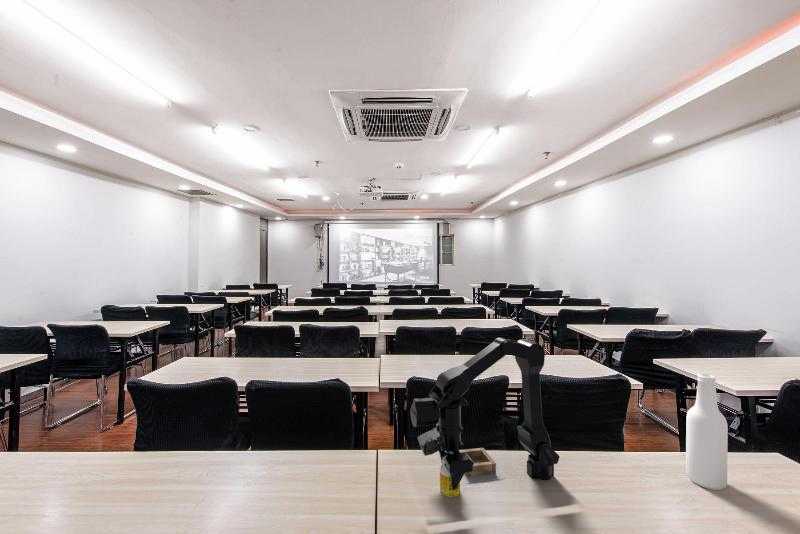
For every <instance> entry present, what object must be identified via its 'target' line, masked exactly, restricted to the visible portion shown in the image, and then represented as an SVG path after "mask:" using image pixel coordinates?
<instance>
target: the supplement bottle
mask: <svg viewBox="0 0 800 534" xmlns="http://www.w3.org/2000/svg"><path fill="white" fill-rule="evenodd" d="M446 457H447V456H444V457H443V458H442V462H441V465H440V467H439V491H440V493H441V495H442V496H445V497H447V498H455V497H457V496H460V493H461V482H460V483H459V485H458V487H457V488H456V489H453V488H452V484H451V477H450V473H449V471H448V470H447V469H446V467H445V465H444V464H445V458H446Z"/></svg>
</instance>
